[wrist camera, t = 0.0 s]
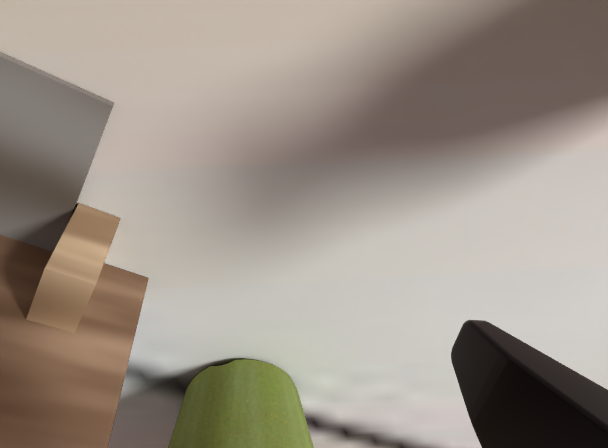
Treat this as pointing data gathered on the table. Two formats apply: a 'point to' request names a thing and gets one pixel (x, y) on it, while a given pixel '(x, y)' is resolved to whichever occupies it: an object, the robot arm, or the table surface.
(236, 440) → the plant pot
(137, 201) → the table surface
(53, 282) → the brown angular stand
